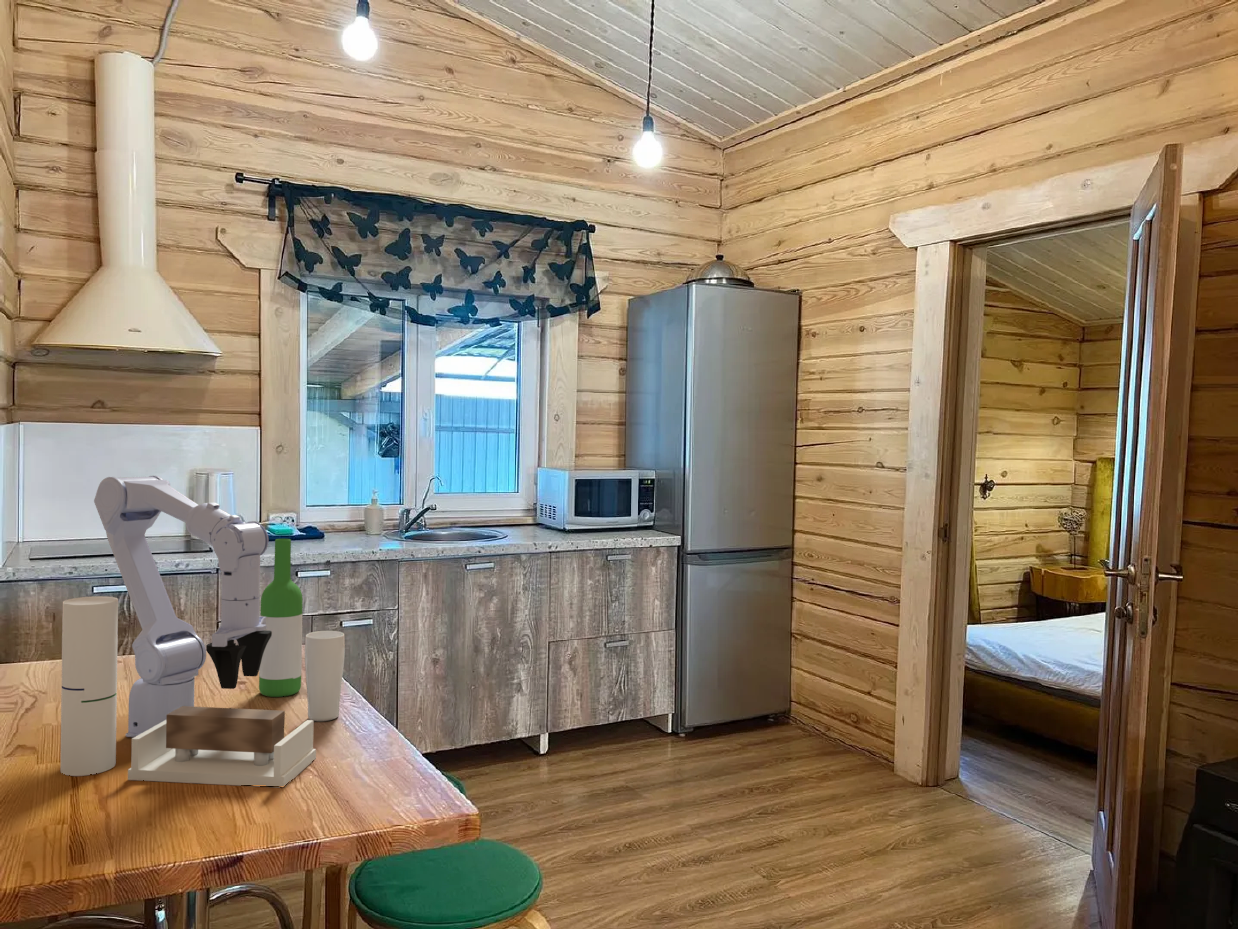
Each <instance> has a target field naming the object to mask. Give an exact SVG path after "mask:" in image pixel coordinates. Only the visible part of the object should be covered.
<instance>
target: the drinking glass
mask: <svg viewBox="0 0 1238 929" xmlns="http://www.w3.org/2000/svg"><path fill="white" fill-rule="evenodd" d="M345 638H346V637H345V633H344V632H342V631H339V630H319V631H312V632H308V633H306V634H305V640H304V668H305V681H306V695H307V697H306V698H307V717H308V720H314V722H328V721H333V720H335V719H337V718H338V717H339V715H340V702H341V694H342V693H341V691H342V690H341V689H342V681H343V673H344V665H345V652H346V646H345V645H346V642H345V641H346V640H345Z"/></svg>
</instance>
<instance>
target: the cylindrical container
mask: <svg viewBox="0 0 1238 929" xmlns="http://www.w3.org/2000/svg"><path fill="white" fill-rule="evenodd" d="M61 615H62V619H61V620H62V621H61V622H62V623H61V624H62V627H61V628H62V629H61V630H62V631H61V634H62V635H61V692H60V693H61V695H60V696H61V698H60V699H61V701H60V702H61V704H60V705H61V707H60V708H61V709H60V773H61V774H62V773H63V774H62V775H64V774H65V775H66V776H69V775H70V777H71V776H72V777H83V776H84V777H85V776H90V774H92V775H97V774H100V773H103V772H107V771H110V770H111V769H112V768H114V767H115V766H116V764H117V763H116V762H117V760H116V759H117V756H116V755H117V709H118V708H117V707H118V706H117V703H118V702H117V698H118V697H117V696H118V643H119V642H118V637H119V636H118V634H119V632H118V628H119V621H118V619H119V599H118V598H117V597H114V596H107V595H106V596H101V595H100V596H98V595H95V596H83V597H82V596H81V597H73V598H69V599H65V600H63V601H62V614H61ZM96 773H97V774H96Z"/></svg>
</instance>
